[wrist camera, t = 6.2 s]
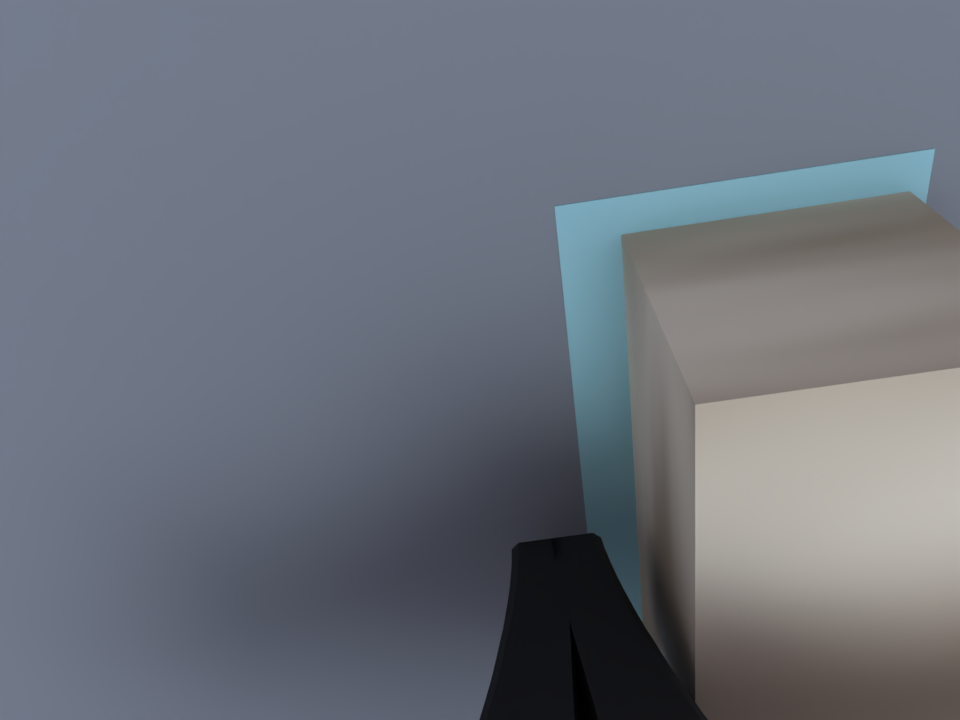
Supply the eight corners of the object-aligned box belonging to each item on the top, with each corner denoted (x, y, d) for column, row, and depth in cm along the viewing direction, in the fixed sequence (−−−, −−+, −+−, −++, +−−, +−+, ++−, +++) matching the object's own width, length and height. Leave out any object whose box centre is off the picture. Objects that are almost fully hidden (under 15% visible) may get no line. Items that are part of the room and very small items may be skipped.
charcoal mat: (1267, 700, 18) (1309, 743, 17) (117, 838, 19) (102, 886, 18) (1962, -383, 8) (2142, -407, 7) (-497, 38, 9) (-590, 59, 8)
